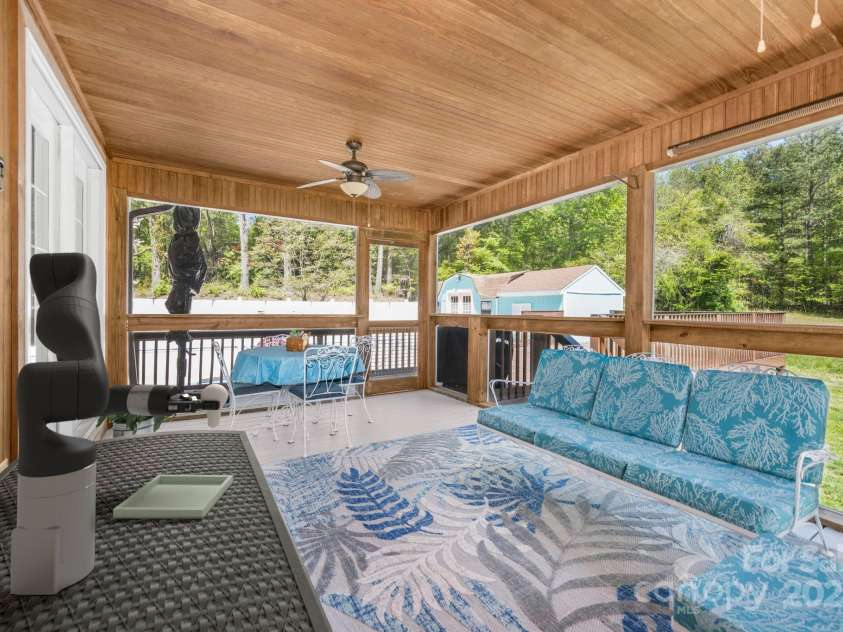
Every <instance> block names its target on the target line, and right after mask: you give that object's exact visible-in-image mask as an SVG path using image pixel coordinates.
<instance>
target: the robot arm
mask: <svg viewBox="0 0 843 632" xmlns="http://www.w3.org/2000/svg"><path fill="white" fill-rule="evenodd" d="M28 266H29V267H28V270H29V276H30V281H31V285H32V289H33V291H34V295H35V297H36V300H37V302H38V305H39V307H38V308H37V311H36V320H35V334H36V337H37V339H38V340H39V342H40V343H41V344H42V345H43V346H44V347H45V348H46V349H47V350H48V351H50V352H51V353H53V354H54V355H55V356H56V361H38V362H37V361H36V362H29V363H26V364H25V365H23V367H22V368H21V369H20V371H19V373H18V375H17V377H16V379H17V380H16V386H15V387H16V388H15V389H16V409H17V411H16V412H17V424H18V425H17V427H18V428H17V429H18V457H17V460H18V461H17V495H16V496H17V500H16V504H17V506H16V508H17V509H16V527H15V528H14V529H12V531H11V536H10V538H11V541H10V542H11V543H10V547H11V548H10V595H11V594H15V595H14V596H34V595H36V596H37V595H38V596H40V595H46V596H47V595H48V596H49V595H50V596H51V595H57V594H58V593H59V592H60V591H61V590H63V589H66V588H68V587H69V586H72V585H75V584H76V583H78V582H80V581H81V580H83V579H84V578H86V577H87V576H88V575H90V573H91V572H92V571H93V570H94V568H95V551H96V550H95V547H96V546H95V545H96V543H95V542H96V502H97V501H96V492H97V491H96V490H97V489H96V488H97V452H98V450H97V446H96V445H97V444H96V443H95V442H94V441H93V440H90V439H87V438H84V437H78V436H70V435H67V434H62V433H60V432H57V431H54V430H52V429H50V428H49V427H48V426H47V425H48V424H54V423H64V422H72V421H83V420H88V419H93V418H98V417H103V416H108V415H109V416H110V415H114V414H118V415H137V416H143V417H144V416H145V417H146V416H148V417H149V416H151V417H152V416H154V417H172V416H174V415H175V414H177V413H179V414H189V413H190V414H191V413H192V414H194V413H197V412H201V411H206V410H218V409H220V401H218V400H204V401H203V400H201V393H202V391H203V390H196V389H195V390H193V391H184V393H181V391H180V388H179V387H178V386H177V385H173V384H168V385H167V384H139V385H138V384H116V385H113V386H111V387H110V380H109V379H110V378H109V374H108V370H107V366H106V361H105V358H104V353H103V350H102V349H103V348H102V340H101V339H102V338H101V319H100V311H99V307H98V302H97V283H98V280H97V279H98V275H97V270H96V269H97V268H96V265H95V262H94V260H93V259H92V257H90V256H89V255H88V254H86V253H82V252H75V251H74V252H53V253H52V252H47V253H46V252H45V253H44V252H42V253H35V254H33V255H32V256H31V257H30V259H29V265H28ZM229 403H231V396H230V395H229V394H228V398H227V401H226V403H225V405H227V404H229Z"/></svg>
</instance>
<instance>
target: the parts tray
mask: <svg viewBox="0 0 843 632" xmlns="http://www.w3.org/2000/svg"><path fill="white" fill-rule="evenodd" d="M233 483H234V475H233V474H231V475H227V474H222V475H220V474H218V475H217V474H214V475H213V474H158V475H156V477H154V478H152V479H151V480H150V481H148V482H147V483H146V484H144V485H143V486H141V488H140V489H138V490H137V491H135V492H134V493H133V494H132V495H130V496H129V497H127V498H126V499H124V501H123V502H121V503H120V504H118V505H117V506H115V507H114V508H113V510H112V513H113V514H112V518H113V519H148V520H149V519H151V520H152V519H153V520H154V519H159V520H160V519H166V520H167V519H168V520H169V519H171V520H172V519H175V520H177V519H179V520H181V519H182V520H183V519H185V520H186V519H187V520H189V519H190V520H192V519H193V520H194V519H195V520H196V519H197V520H198V519H201V520H203V519H204V518H205V516H206V515H207V514H208V513H209V512H210V510H211V509H212V508H213V507H214V506H215V505H216V503H217V502H218V501H219V500H220V499H221V498H222V497H223V495H224V494H225V493H226V491H228V489H230V487H231V486H232V485H233Z"/></svg>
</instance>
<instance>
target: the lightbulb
mask: <svg viewBox="0 0 843 632" xmlns="http://www.w3.org/2000/svg"><path fill="white" fill-rule="evenodd" d="M201 391H202V393H201V400H203V401H204V400H218V401H220V409H218V410H205V412H206V418H207V426H208V427H210V428H211V429H215V428H216V427H218V426H219V425H220V418H221V416H222V410H223V408H224V406H225V405H226V404H225V403H226V401H227V398H228V395H229V393H228V390H227V389H226V388H225V386H223V385H222V384H219V383H212V384H209V385H207V386H205V388H203V390H201Z"/></svg>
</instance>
